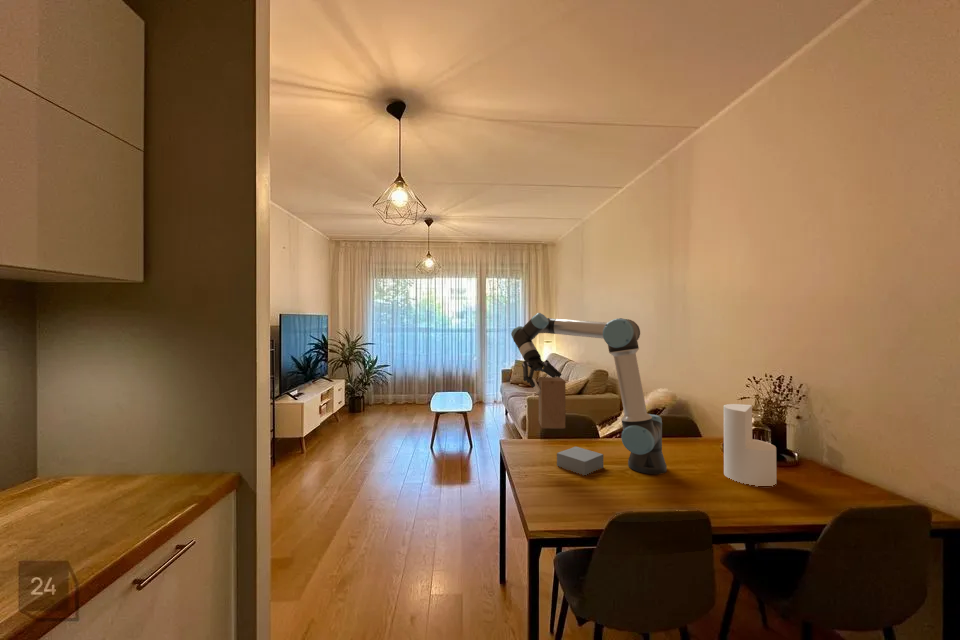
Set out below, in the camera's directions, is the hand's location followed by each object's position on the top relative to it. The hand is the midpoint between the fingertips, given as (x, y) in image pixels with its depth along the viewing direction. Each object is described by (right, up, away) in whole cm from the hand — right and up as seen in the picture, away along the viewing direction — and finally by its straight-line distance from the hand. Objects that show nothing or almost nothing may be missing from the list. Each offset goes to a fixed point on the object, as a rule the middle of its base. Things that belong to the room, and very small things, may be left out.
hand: (551, 391), depth 163 cm
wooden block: (0, -15, -1) cm, 15 cm away
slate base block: (+13, -33, 0) cm, 35 cm away
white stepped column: (+78, -33, -11) cm, 86 cm away
